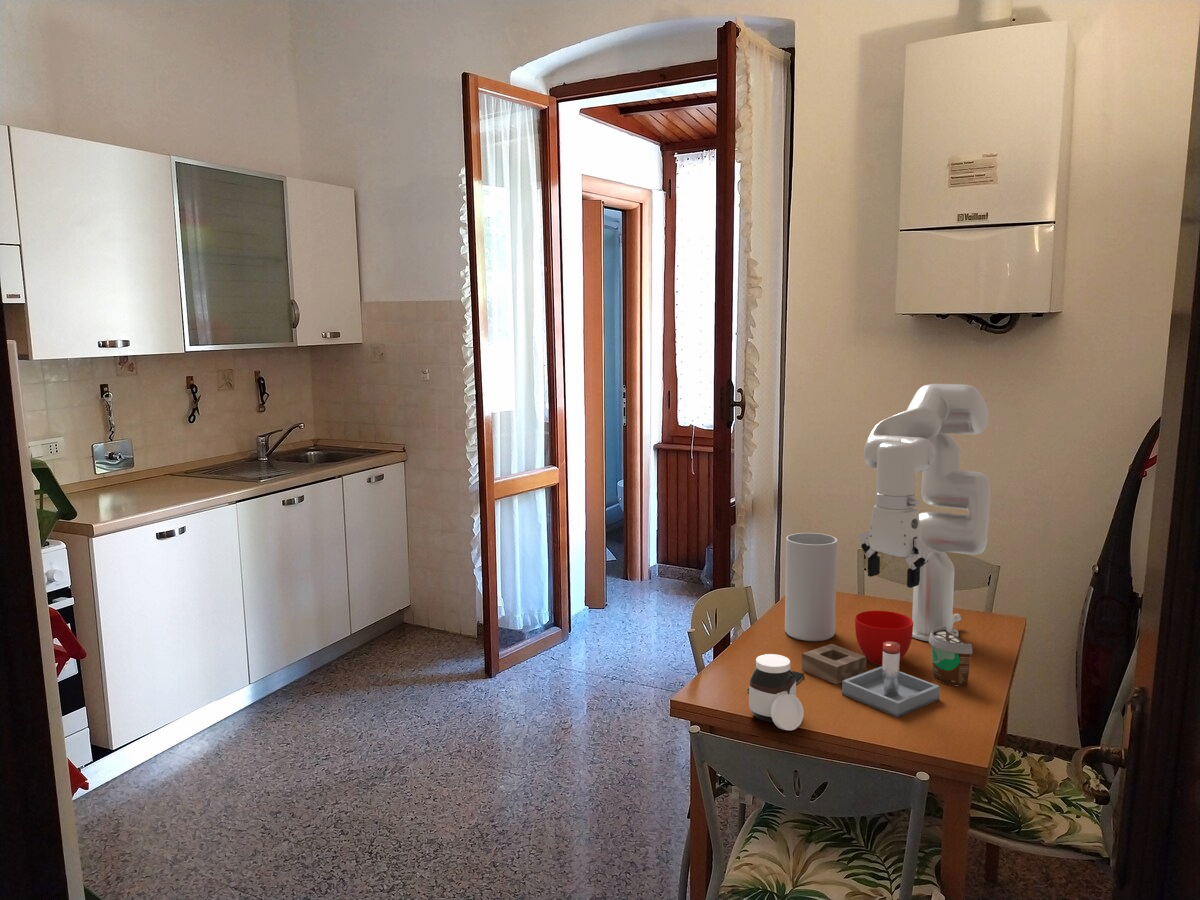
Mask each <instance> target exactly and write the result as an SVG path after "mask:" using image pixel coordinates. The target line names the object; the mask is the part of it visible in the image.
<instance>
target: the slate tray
mask: <svg viewBox="0 0 1200 900" xmlns="http://www.w3.org/2000/svg"><path fill="white" fill-rule="evenodd" d="M841 684H842V685H841V687H842V688H841V689H842V691H841V694H842V695H843V696H845V697H847V698H850V699H853V700H856V701H857V702H860V703H862V704H865V705H867V706H869V707H871V708H874V709H876V710H879V711H880V712H883V713H886V714H888V715H890V716H893V717H895V718H897V719H898V718H901V717H903V716H904V715H907V714H909V713H912V712H914V711H917V710H918V709H922V708H923V707H925V706H928V705H931V704H932V703H936V702H937V701H940V692H941V691H940V690H941V686H940V685H938V684H935V683H932V682H929V681H927V680H924V679H921V678H919V677H916V676H914V675H912V674H911V675H910V674H908V673H906V672H903V671H900V670H899V695H898V696H897V697H886V696H884V695H882V665H880V666H879V667H875V668H873V669H870V670H866V672H865V673H862V674H859V675H857V676H854V677H851V678H848V679H846V680H843V681H842V683H841Z"/></svg>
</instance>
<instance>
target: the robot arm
mask: <svg viewBox="0 0 1200 900" xmlns="http://www.w3.org/2000/svg"><path fill="white" fill-rule="evenodd" d="M989 415H990V414H989V409H988V406H987V403H986V401H985V400H984V397H983V396H982V394H981V392H980V391H979V390H978V389H977V388H976V387H975V386H973V385H970V384H966V383H965V384H964V383H963V384H962V383H961V384H960V383H957V384H956V383H928V384H925V385H923V386H921V387H920V388H918V389H917V391H916V392H915V393H914V395H913V397H912V399H911V400H910V403H909V405H908V407H907V408H906V410H904V411H901V412H899V413H897V414H894V415H892V416H890V417H888V418H887V417H886V418H884V419H883V420H880V421H879V422H878V423H877V424H876V425H874V427H873V428H872V430H871V432H870V433H869V435H868V437H867V439H866V441H865V444H864V448H863V460H864V462H865V464H866V465H867V466H868V467H869V468H871V469H874V470H876V488H875V489H876V492H875V493H876V495H875V504H874V506H873V508H872V513H871V518H870V524H869V530H868V531H865V532H863V533H860V534H858V537H857V538H858V540H859V543H860V544H861V545H860V546H861V549H862V550H863V552H864V555H865V558H867V576H868V577H870V578H872V577H875V576H878V575H880V572H881V571H880V570H881V557H880V556H879V554H880V553H881V554H883V555H888V556H891V557H896V558H900V559H904V560H905V561H906V563H907V565H908V566H909V568H908V569H907V573H906V574H907V575H906V587H907V588H910V589H912V588H913V591H912V613H911V614H912V616H911V619H912V621H913V633H912V639H913V638H914V639H916V640H920V641H923V642H929V637H930V634H931V632H932V630H933V629H935V628H937V627H942V626H946V627H947V631H948V632H949V633H951V634H952V635H955V636H957V637H958V638H959V631H958V630H957V629H956V628H954V624H955V623H957V622H960V621H961V620H962V617H961V614H959V613H953V610H954V608H953V607H954V589H955V587H954V585H955V584H954V583H955V566H954V563H953V562H952V560H951V559H950V557H949V556H948V554H947V553H954V554H963V555H972V556H973V555H981V554H983V552H984V551H985V550H986V547H987V543H988V535H989V534H988V533H989V521H990V508H991V491H992V490H991V483H990V479H989V477H988V476H987V475H986V474H985V473H983V472H979V471H974V470H961V467H960V464H961V463H960V462H961V453H962V452H961V448H960V446H959V444H958V443H957V441H956V440H955V439H954V437H953V436H952V435H951V434H958V435H959V434H960V435H978V434H980V435H981V433H983V432H984V431H985V430H986V428H987V426H988V423H989ZM920 473H922V477H921V489H920V491H921V492H920V493H921V498H922V501H923V502H924V503H925V504H927V505H929V506H932V507H938V508H940V507H941V508H948V509H959V510H965V511H967V512H968V514H959V513H950V512H940V511H924V512H920V513H919V509H916V507H918V506H919V505H920V501H919V500H918V499H916V496H915V493H916V491H915V490H916V489H915V488H916V474H920Z"/></svg>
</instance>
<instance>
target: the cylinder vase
mask: <svg viewBox="0 0 1200 900" xmlns="http://www.w3.org/2000/svg"><path fill="white" fill-rule="evenodd" d="M837 557H838V538H836V537H835V536H832V535H830V534H824V533H817V532H800V533H799V532H798V533H793V534H789V535H786V540H785V593H784V595H785V596H784V597H785V598H784V599H785V601H784V604H785V605H784V612H785V613H784V631H785V633H786V634H787V635H788V636H789V637H791V638H793V639H796V640H799V641H805V642H821V641H826V640H830V639H831V638H833V637H834V636H835V633H836V610H837V609H836V608H837V607H836V604H837V603H836V602H837V600H836V599H837V598H836V597H837V596H836V595H837V565H838V564H837Z"/></svg>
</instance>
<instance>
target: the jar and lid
mask: <svg viewBox="0 0 1200 900" xmlns="http://www.w3.org/2000/svg"><path fill="white" fill-rule="evenodd" d="M793 671H794V670H792V669H791V660H790V658H788V657H787V656H784V655H781V654H776V653H775V654H774V653H765V654H762V655H759V656H757V657H756V659H755V669H754V670H753V671H752V673H751V676H750V679H749V684H748V685H749V687H748V688H749V693H748V707H749V710H750V712H751V714H752V715H753V716H755V717H756V718H757V719H759V720H761V721H763V722H766V723H767V722H768V723H774V725H775V726H776V727H777V728H778V729H781V730H783V731H794V730H796V729H798V728H799V727H800V725H801V724H802V722H803V719H804V707H803V704H802V702H801V700H800V699H799V697H797V684H796V678H795V675H794V673H793Z"/></svg>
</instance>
